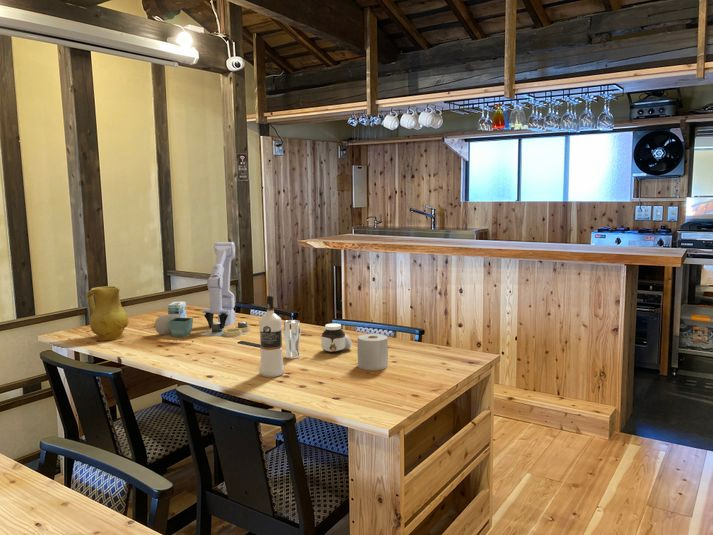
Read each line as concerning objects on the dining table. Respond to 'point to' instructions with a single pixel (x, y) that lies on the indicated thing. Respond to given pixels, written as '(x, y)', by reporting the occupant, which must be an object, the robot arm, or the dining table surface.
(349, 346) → the spread jar
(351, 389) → the dining table surface
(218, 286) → the robot arm
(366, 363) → the toilet paper roll
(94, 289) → the pitcher
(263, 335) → the vodka
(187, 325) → the flower pot
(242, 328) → the board
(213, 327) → the cap
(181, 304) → the light bulb box
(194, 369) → the dining table surface
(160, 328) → the ball
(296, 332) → the beer glass
